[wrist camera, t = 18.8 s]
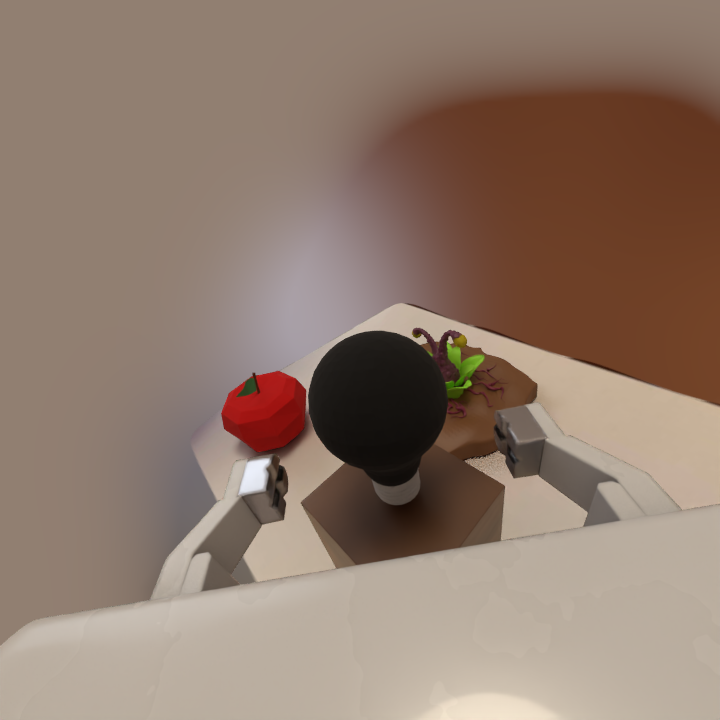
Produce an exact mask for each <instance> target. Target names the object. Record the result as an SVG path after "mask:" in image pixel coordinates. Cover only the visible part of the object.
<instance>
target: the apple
mask: <svg viewBox="0 0 720 720" xmlns="http://www.w3.org/2000/svg"><path fill="white" fill-rule="evenodd" d="M305 410H306V389H305V388H304V387H303V386H302V385H301V384H300V383H299V381H298V380H297V379H296V378H293V377H291V376H289V375H287V374H284V373H282V372H280V371H276V372H272V373H267V374H263V375H257V376H256V375H255V373H253V376H252V377H250V378H249V379H247V380H246V381H245V382H243V383H242V384H241V385H239V386H238V387H237V388H235V389H234V390H233V391H231V392H230V393H229V394H228V397H227V400H226V402H225V405H224V407H223V410H222V413H221V414H222V420H223V425H224V429H225V430H226V431H228V432H229V433H231V434H232V435H234V436H235V437H237V438H238V439H240V440H241V441H243V442H244V443H246V444H247V445H248V446H250V447H251V448H252V449H254V450H255V451H256V452H262V451H268V450H271V449H275V448H280V447H284V446H285V445H286V444H288V443H289V442H290V441H291V440H292V439H294V438H295V437H296V436H297V435H298V434H299V433H300V432H301V431H302V430H303V429H304V423H305Z"/></svg>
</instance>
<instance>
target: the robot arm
mask: <svg viewBox="0 0 720 720" xmlns="http://www.w3.org/2000/svg"><path fill="white" fill-rule="evenodd" d="M494 420H495V422H496V425H495V426H494V427H493V434H494V438H495V442H496V445H497V447H498V449H499V451H500V453H502V454H504V455H505V456H506V462H505V463H506V465H507V466H508V468H509V470H510V472H511V474H512V476H513V478H520V477H527V476H533V475H539V476H540V477H541V478H542V479H544V480H545V481H546V482H548V483H549V484H551V485H552V486H553V487H555V488H556V489H557V490H559V491H560V492H561V493H563V494H564V495H565V496H567V497H568V498H570V499H571V500H572V501H574V502H575V503H576V504H578V505H579V506H580V507H582V508H583V509H584V510H586V511H587V512H588V515H587V517H586V520H585V523H584V526H583V527H579V528H573V529H568V530H562V531H556V532H550V533H544V534H538V535H532V536H526V537H520V538H514V539H509V540H503V541H497V542H491V543H485V544H479V545H473V546H467V547H461V548H455V549H449V550H443V551H437V552H432V553H426V554H420V555H414V556H408V557H402V558H396V559H390V560H384V561H379V562H373V563H367V564H361V565H355V566H349V567H343V568H337V569H332V570H326V571H320V572H314V573H308V574H302V575H296V576H290V577H284V578H278V579H272V580H267V581H261V582H255V583H249V584H243V585H240V584H239V583H238V582H237V581H236V580H235V579H234V578H233V576H232V575H231V574H232V572H233V571H234V569H235V568H236V566H237V564H238V563H239V561H240V560H241V558H242V556H243V555H244V553H245V552H246V550H247V549H248V547H249V545H250V544H251V542H252V541H253V539H254V537H255V536H256V534H257V533H258V531H259V529H260V528H261V526H262V524H267V523H271V522H276V521H281V520H284V514H285V507H286V502H285V500H284V498H283V497H284V496H285V494H286V493H287V492H288V476H287V473H286V470H285V468H284V467H283V466H281V465H279V462H280V459H279V457H278V455H277V454H270V455H264V456H258V457H252V458H247V459H241V460H236V462H235V463H234V464H233V467H232V471H231V474H230V477H229V480H228V484H227V487H226V490H225V493H224V497H223V500H219V501H218V502H217V503H216V504H215V505H214V506H213V508H212V509H211V510H210V511H209V512H208V513H207V514H206V515H205V516H204V518H203V519H202V520H201V521H200V522H199V523H198V524H197V525H196V526H195V527H194V528H193V530H192V531H191V532H190V533H189V534H188V535H187V536H186V537H185V538H184V539H183V541H182V542H181V543H180V544H179V545H178V546H177V547H176V548H175V549H174V550H173V552H172V553H171V554H170V555H169V556H168V557H167V558H166V561H165V563H164V566H163V568H162V571H161V573H160V576H159V579H158V581H157V583H156V586H155V588H154V591H153V593H152V596H151V598H150V600H148V601H143V602H136V603H130V604H124V605H119V606H112V607H106V608H101V609H94V610H88V611H83V612H77V613H71V614H65V615H58V616H52V617H46V618H42V619H38V620H34V621H32V622H30V623H28V624H26V625H25V626H24V627H22V628H21V629H20V630H19V631H17V632H16V633H15V634H13V635H12V636H11V637H10V638H9V639H7V640H6V641H5V642H4V643H3V644H2V645H1V646H0V720H720V504H715V505H709V506H703V507H697V508H691V509H686V510H682V509H681V508H680V507H679V506H678V505H677V504H676V503H675V502H674V501H673V500H672V498H671V497H670V496H669V495H668V494H667V493H666V492H665V491H664V490H663V489H662V488H661V487H660V485H659V484H658V483H657V482H656V481H655V480H654V479H653V478H652V477H651V476H650V475H649V474H648V473H646V472H644V471H642V470H640V469H638V468H636V467H634V466H632V465H630V464H628V463H626V462H624V461H622V460H620V459H618V458H616V457H614V456H612V455H610V454H608V453H606V452H603V451H601V450H599V449H597V448H595V447H593V446H591V445H589V444H587V443H585V442H583V441H581V440H579V439H577V438H575V437H573V436H571V435H568V436H566V435H565V434H564V433H563V432H562V430H561V429H560V428H559V427H558V425H557V424H556V423H555V421H554V420H553V419H552V418H551V416H550V415H549V414H548V412H547V411H546V410H545V409H544V407H543V406H542V405H541V404H540V403H538V402H536V403H531V404H526V405H521V406H516V407H511V408H506V409H501V410H496V411H495V412H494Z"/></svg>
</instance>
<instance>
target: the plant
mask: <svg viewBox="0 0 720 720" xmlns="http://www.w3.org/2000/svg"><path fill="white" fill-rule="evenodd" d="M421 334H423V335H424V337H426V339H427V342H429V343H426V344H422V345H420V346H422V347H423V348H424V349H425V350H426V351H427V352H428V353H429V354H430V355H431V357H432V358H433V359H434V360H435V361H436V363H437V364H438V366H439V368H440V371H441V373H442V375H443V377H444V380H445V383H446V389H447V396H448V408H447V414H446V420H445V423H444V426H443V429H442V431H441V432H440V434H439V436H438V438H437V440H436V441H435V443H434V444H435V445H437V446H439V447H440V448H442V449H444V450H445V451H447V452H449V453H450V454H452V455H454V456H456V457H457V458H459V459H461V460H465V459H467V458H470V457H474V456H483V455H487V454H489V453H491V452H494V451H496V450H498V447H497V445H496V442H495V438H494V434H493V427H494V426H495V425H496V422H495V420H494V412H495V411H496V410H501V409H506V408H511V407H516V406H521V405H526V404H530V403H531V402H532V401H533V400H534V399H535V398H536V396H537V383H535V382H534V381H532V380H531V379H530V378H529V377H528V376H527V375H526V374H524V373H523V372H521V371H520V370H518V369H516V368H515V367H513V366H512V365H511V364H510V363H509V362H507V361H506V360H504V359H501V358H499V357H495V356H491V355H487V354H485V353H484V352H483V351H482V350H481V348H472V347H469V346H467V345H466V344H467V339H466V337H465V336H464V335H462V334H461V333H459V332H456V331H452V330H449V331H447V332H445V333H444V335H443V336H442V337H441V340H440V342H434V339H432V337H431V336H430V334H428V332H426V331H425V330H423V329H421V328H414V329H413V331H412V335H413V337H415V338H418V337H420V336H421ZM449 336H451V337H452V340H453V342H454V343H453V344H449V343H448V342H447V341H448V337H449Z"/></svg>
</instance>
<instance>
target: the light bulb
mask: <svg viewBox="0 0 720 720" xmlns="http://www.w3.org/2000/svg"><path fill="white" fill-rule="evenodd" d="M308 399H309V414H310V418H311V421H312V424H313V427H314V430H315V432H316V434H317V436H318V437H319V438H320V440H321V441H322V443H323V444H324V445H325V447H326V448H327V449H328V450H329V451H330V452H331V453H332V454H333V455H335V456H336V457H337V458H339V459H340V460H342V461H343V462H345V463H347V464H348V465H350V466H353V467H356V468H359V469H363V470H364V472H365V473H366V474H367V475H368V476H369V477H370V478H371V479H372V482H373V485H374V488H375V491H376V493H377V495H378V496H379V497H380V499H382V500H383V501H384V502H386V503H388V504H392V505H402V504H405V503H407V502H410V501H411V500H412V499H414V498H415V496H416V495H417V494H418V492H419V489H420V477H419V471H418V469H419V465H420V462H421V458H422V455H423V454H425V453H426V452H427V451H428V450H429V449H430V448H431V447H432V446H433V444H434V443H435V441H436V440H437V438H438V436H439V434H440V432H441V431H442V429H443V426H444V423H445V420H446V414H447V408H448V396H447V389H446V383H445V380H444V377H443V375H442V373H441V371H440V368H439V366H438V364H437V363H436V361H435V360H434V359H433V358H432V357H431V355H430V354H429V353H428V352H427V351H426V350H425V349H424V348H423V347H422V346H420V345H419V344H417V343H416V342H414V341H413V340H411V339H410V338H407V337H405V336H402V335H400V334H397V333H392V332H386V331H368V332H363V333H359V334H356V335H353V336H350V337H348V338H346V339H344V340H342V341H341V342H339V343H338V344H336V345H335V346H334V347H333V348H331V349H330V350H329V351H328V352H327V354H326V355H325V356H324V357H323V358H322V360H321V361H320V363H319V364H318V366H317V368H316V369H315V371H314V374H313V377H312V380H311V384H310V388H309V394H308Z"/></svg>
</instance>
